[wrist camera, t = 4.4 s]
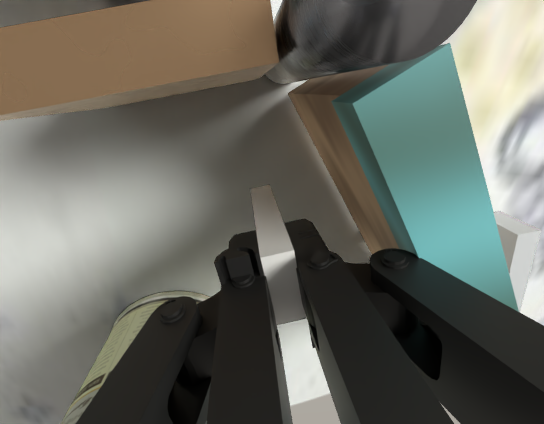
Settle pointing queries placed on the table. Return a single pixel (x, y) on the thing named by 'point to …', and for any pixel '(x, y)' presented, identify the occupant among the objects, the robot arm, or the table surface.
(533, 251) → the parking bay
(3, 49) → the gate posts
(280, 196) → the table surface
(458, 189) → the gate
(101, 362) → the coffee can
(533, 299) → the table surface
